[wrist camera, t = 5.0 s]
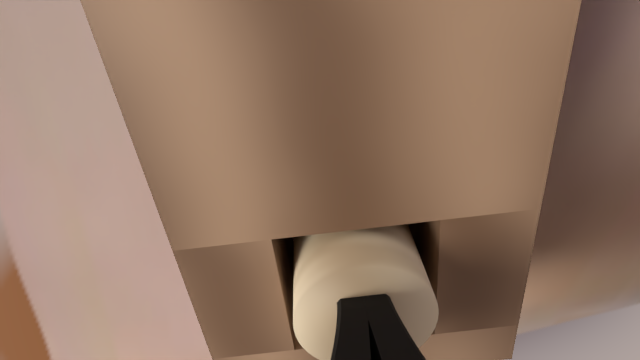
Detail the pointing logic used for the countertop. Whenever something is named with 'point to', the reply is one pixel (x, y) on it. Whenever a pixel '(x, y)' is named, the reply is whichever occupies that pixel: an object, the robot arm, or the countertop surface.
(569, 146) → the countertop surface
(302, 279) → the peg
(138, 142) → the collar bar
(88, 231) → the countertop surface
